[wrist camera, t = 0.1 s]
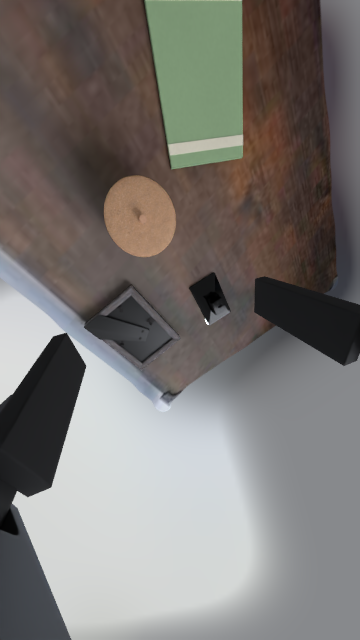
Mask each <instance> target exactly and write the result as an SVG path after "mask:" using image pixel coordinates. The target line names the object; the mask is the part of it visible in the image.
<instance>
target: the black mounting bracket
mask: <svg viewBox="0 0 360 640" xmlns="http://www.w3.org/2000/svg"><path fill="white" fill-rule="evenodd" d="M190 290H191V292H192V294H193V296H194V298H195V300H196V302H197V304H198V306H199V307H200V309H201V311H202V313H203V315H204V317H205V321H206V323H207V324H209V325H211V324H213V323H214V322H216V321H217V320H219V319H220V318H222V317H224V316H225V315H227V314H228V313H230V312H231V311H230V308H229V306H228V304H227V301H226V299H225V296H224V294H223V292H222V289H221V287H220V284H219V282H218V280H217V277H216V275H215V273H212V274H210V275H209V276H207V277H206V278H204V279H202V280H201V281H199V282H198V283H196V284H195V285H193V286H191V287H190Z"/></svg>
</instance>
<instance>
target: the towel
mask: <svg viewBox="0 0 360 640" xmlns="http://www.w3.org/2000/svg"><path fill="white" fill-rule="evenodd" d="M144 3H145V9H146V16H147V22H148V28H149V34H150V41H151V47H152V53H153V59H154V66H155V72H156V78H157V84H158V90H159V97H160V103H161V109H162V115H163V122H164V128H165V134H166V140H167V146H168V153H169V159H170V165H171V169H177V168H183V167H190V166H196V165H202V164H209V163H215V162H221V161H228V160H234V159H241V158H242V157H243V104H242V0H144Z"/></svg>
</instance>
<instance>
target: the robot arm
mask: <svg viewBox="0 0 360 640" xmlns="http://www.w3.org/2000/svg"><path fill="white" fill-rule="evenodd" d="M254 312H255V313H257V314H258V315H260V316H262V317H263V318H265V319H267V320H268V321H270V322H272V323H273V324H275V325H277V326H278V327H280V328H282V329H283V330H285V331H287V332H288V333H290V334H292V335H293V336H295V337H297V338H298V339H300V340H302V341H303V342H305V343H307V344H308V345H310V346H312V347H313V348H315V349H317V350H318V351H320V352H322V353H323V354H325V355H327V356H328V357H330V358H332V359H334V360H335V361H337V362H338V363H340V364H342V365H343V366H345V365H347V364H350V363H352V362H355V361H357V359H358V356H359V354H360V305H358V304H355V303H352V302H349V301H345V300H342V299H338V298H335V297H332V296H328V295H325V294H322V293H318V292H315V291H312V290H308V289H305V288H302V287H298V286H295V285H292V284H288V283H285V282H282V281H278V280H275V279H272V278H268V277H265V276H264V277H260V278H257V279H255V307H254ZM85 369H86V365H85V363H84V361H83V359H82V358H81V356H80V354H79V353H78V351H77V349H76V348H75V346H74V344H73V343H72V341H71V339H70V338H69V336H68V334H67V333H64V334H60V335H57V336H54V337H53V338H52V339H51V341H50V342H49V343H48V345H47V346H46V348H45V349H44V351H43V352H42V353H41V355H40V356H39V358H38V359H37V361H36V362H35V363H34V365H33V366H32V368H31V369H30V371H29V372H28V374H27V375H26V376H25V378H24V379H23V381H22V382H21V384H20V385H19V386H18V388H17V389H16V391H15V392H14V393H13V395H10V396H9V397H8V398H7V399H6V400H5V401H4V402H3V403H2V404H1V405H0V640H71V638H70V636H69V633H68V631H67V628H66V626H65V623H64V621H63V618H62V616H61V614H60V611H59V609H58V606H57V604H56V601H55V599H54V596H53V594H52V592H51V589H50V587H49V584H48V582H47V580H46V577H45V575H44V572H43V570H42V567H41V565H40V562H39V560H38V557H37V555H36V552H35V550H34V548H33V545H32V543H31V540H30V538H29V535H28V533H27V531H26V528H25V526H24V523H23V521H22V518H21V516H20V514H19V511H18V509H17V508H16V507H15V506H14V505H13V504H12V501H13V499H14V497H15V494H16V492H17V491H19V492H20V493H22V494H23V495H25V496H27V497H29V496H32V495H34V494H36V493H39V492H41V491H44V490H46V489H49V488H51V486H52V483H53V479H54V476H55V472H56V469H57V465H58V462H59V459H60V455H61V452H62V448H63V445H64V441H65V438H66V434H67V431H68V427H69V424H70V421H71V417H72V413H73V410H74V407H75V403H76V400H77V397H78V393H79V390H80V386H81V383H82V379H83V376H84V372H85Z"/></svg>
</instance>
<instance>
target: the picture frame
mask: <svg viewBox="0 0 360 640" xmlns="http://www.w3.org/2000/svg"><path fill="white" fill-rule="evenodd" d="M84 328H85V329H87V330H88V331H89V332H91V333H92V334H93V335H95V336H96V337H97V338H99V339H101V340H103V341H104V342H105V343H107V344H108V345H109V346H111V347H112V348H113V349H115V350H116V351H117V352H119V353H120V354H121V355H123V356H124V357H125V358H127V359H128V360H129V361H131V362H132V363H133V364H134V365H136V366H137V367H138V368H140V369H141V370H142V369H143V368H144V367H146V366H147V365H148V364H149V363H151V362H152V361H153V360H154V359H156V358H157V357H158V356H159V355H161V354H162V353H163V352H165V351H166V350H167V349H168V348H170V347H171V346H172V345H173V344H175V343H176V342H177V341H178V340H180V339H181V338H180V337H179V335H178V334H177V333H176V332H175V331H174V330H173V329H172V328H171V326H170V325H169V324H168V323H167V322H166V321H165V320H164V319H163V318H162V317H161V316H160V315H159V314H158V313H157V311H156V310H155V309H154V308H153V307H152V306H151V305H150V304H149V303H148V302H147V301H146V300H145V299H144V298H143V296H142V295H141V294H140V293H139V292H138V291H137V290H136V289H135V288H134V287H133V286H132V285H131V286H130V287H128V288H127V289H126V290H125V291H124V292H122V293H121V294H120V295H119V296H118V297H116V298H115V299H114V300H113V301H112V302H110V303H109V304H108V305H107V306H106V307H105V308H103V309H102V310H101V311H100V312H99V313H97V314H96V315H95V316H94V317H93V318H91V319H90V320H89V321H88V322H87V323H86V324H85V326H84Z"/></svg>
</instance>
